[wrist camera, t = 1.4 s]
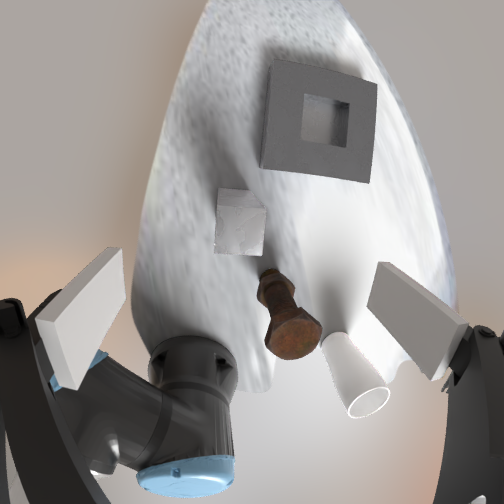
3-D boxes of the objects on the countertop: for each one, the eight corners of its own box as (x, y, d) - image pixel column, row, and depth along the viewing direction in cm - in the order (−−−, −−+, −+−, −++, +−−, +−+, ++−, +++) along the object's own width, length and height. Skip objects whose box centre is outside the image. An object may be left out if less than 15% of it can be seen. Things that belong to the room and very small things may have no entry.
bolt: (296, 277, 40) (332, 337, 26) (271, 301, 41) (295, 368, 27) (267, 252, 39) (294, 306, 24) (242, 277, 39) (255, 342, 25)
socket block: (357, 181, 37) (369, 183, 33) (259, 168, 35) (263, 168, 31) (365, 88, 32) (377, 84, 29) (269, 67, 30) (274, 58, 27)
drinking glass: (348, 354, 47) (383, 411, 33) (314, 360, 46) (342, 423, 32) (354, 323, 44) (396, 380, 30) (318, 329, 44) (352, 393, 30)
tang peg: (246, 220, 37) (261, 255, 24) (216, 218, 36) (214, 253, 23) (249, 190, 36) (266, 208, 22) (218, 188, 35) (216, 205, 22)
